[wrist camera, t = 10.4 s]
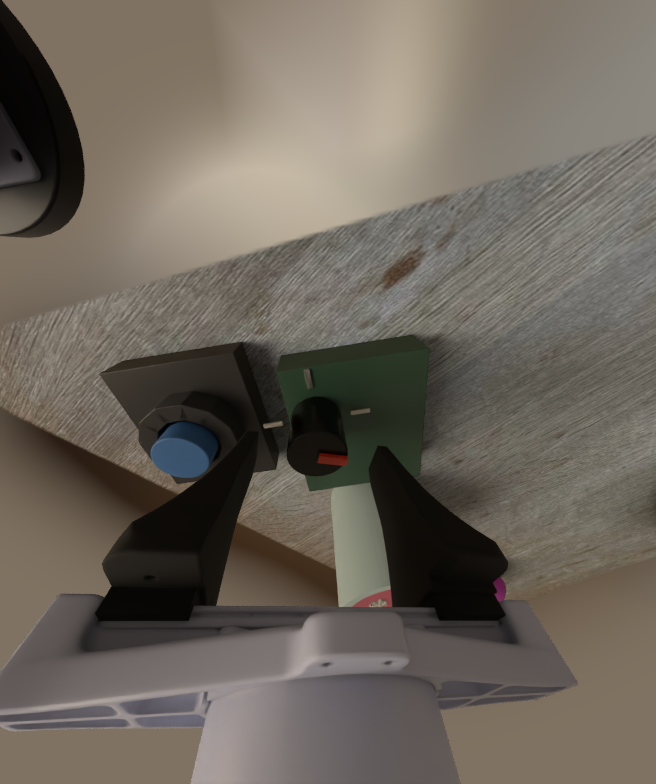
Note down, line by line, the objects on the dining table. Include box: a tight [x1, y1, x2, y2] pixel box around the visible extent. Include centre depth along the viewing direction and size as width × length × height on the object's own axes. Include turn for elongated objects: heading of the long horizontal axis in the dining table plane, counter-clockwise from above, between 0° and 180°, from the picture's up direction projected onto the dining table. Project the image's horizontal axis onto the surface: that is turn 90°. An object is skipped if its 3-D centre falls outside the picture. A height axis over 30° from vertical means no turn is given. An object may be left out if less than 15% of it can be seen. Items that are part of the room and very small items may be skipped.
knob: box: [287, 397, 348, 477], centre depth 15 cm, size 4×4×4 cm
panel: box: [263, 335, 430, 491], centre depth 19 cm, size 12×12×3 cm
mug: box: [331, 483, 392, 607], centre depth 23 cm, size 14×9×10 cm
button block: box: [100, 342, 279, 484], centre depth 18 cm, size 11×9×4 cm
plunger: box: [151, 422, 218, 478], centre depth 16 cm, size 4×4×2 cm
